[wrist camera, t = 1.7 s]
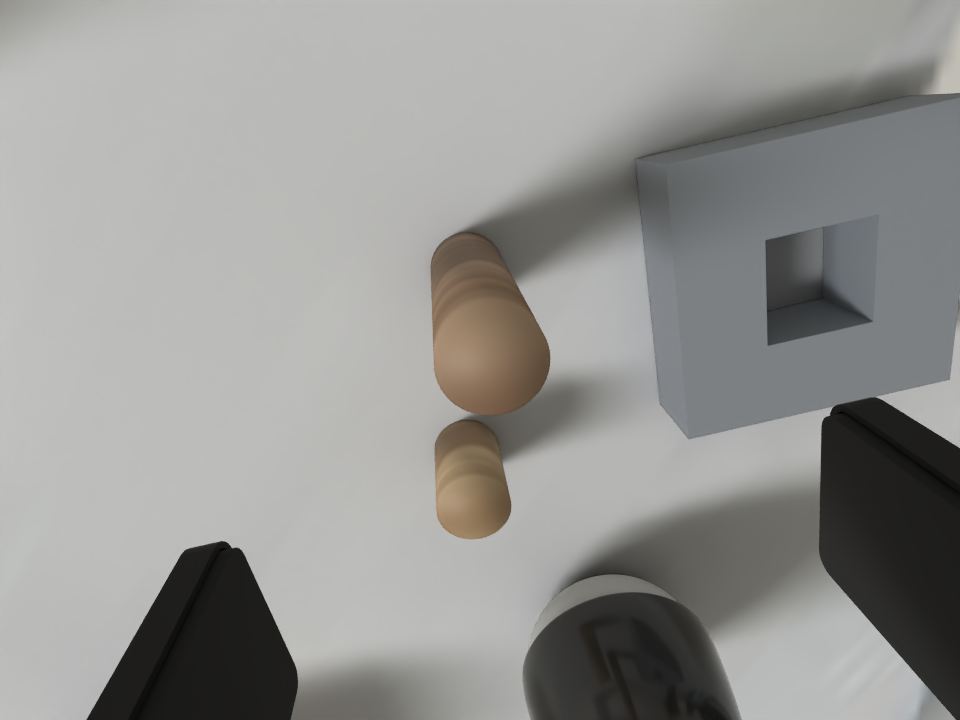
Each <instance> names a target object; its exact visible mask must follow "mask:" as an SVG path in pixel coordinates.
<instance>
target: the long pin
mask: <svg viewBox="0 0 960 720" xmlns="http://www.w3.org/2000/svg"><path fill="white" fill-rule="evenodd" d="M431 291H432V320H433V350H434V371H435V376H436V379H437V382H438V384H439V386H440V388H441V390H442V391H443V393H444V394H445V395H446V397H447V398H448V399H449V400H450V401H451V402H453V403H454V404H455V405H457V406H458V407H460V408H462V409H464V410H466V411H468V412H471V413H474V414H480V415H500V414H505V413H508V412H511V411H514V410H516V409H518V408H520V407H522V406H524V405H525V404H526V403H528V402H529V401H530V400H531V399H532V398H533V397H535V396H536V394H537V393H538V392H539V391H540V389H541V388H542V386H543V385H544V382H545V380H546V378H547V375H548V372H549V367H550V350H549V346H548V343H547V340H546V338H545V336H544V334H543V332H542V330H541V328H540V327H539V325H538V323H537V321H536V319H535V317H534V316H533V314H532V312H531V310H530V308H529V306H528V305H527V303H526V301H525V299H524V297H523V295H522V294H521V292H520V290H519V288H518V286H517V284H516V283H515V281H514V279H513V277H512V275H511V273H510V271H509V270H508V268H507V266H506V264H505V262H504V260H503V259H502V257H501V255H500V253H499V251H498V250H497V248H496V247H495V245H494V244H493V243H492V242H491V241H490V240H488V239H487V238H485V237H484V236H482V235H479V234H475V233H469V232H466V233H458V234H455V235H453V236H450V237H449V238H447V239H445V240H444V241H443V242H442V243H441V244H440V245H439V246H438V248H437V249H436V251H435V252H434V255H433V257H432V261H431Z"/></svg>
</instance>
